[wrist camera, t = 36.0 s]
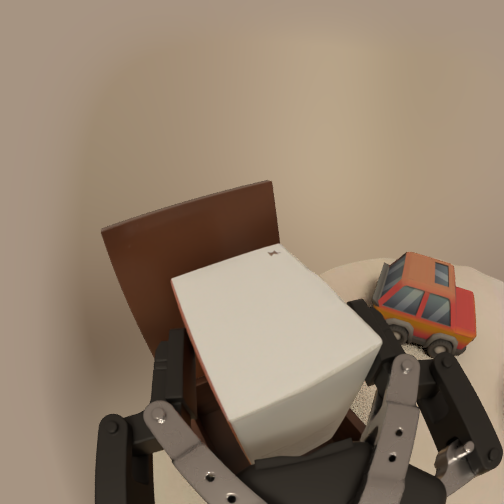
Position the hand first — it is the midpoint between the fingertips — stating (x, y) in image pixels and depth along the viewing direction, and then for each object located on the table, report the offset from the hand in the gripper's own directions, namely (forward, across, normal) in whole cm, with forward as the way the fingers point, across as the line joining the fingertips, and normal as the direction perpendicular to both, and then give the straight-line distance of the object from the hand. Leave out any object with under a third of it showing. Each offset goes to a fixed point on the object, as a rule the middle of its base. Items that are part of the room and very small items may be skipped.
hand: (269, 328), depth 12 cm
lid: (+7, +3, +4) cm, 9 cm away
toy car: (+11, -25, +20) cm, 34 cm away
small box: (0, 0, +11) cm, 11 cm away
